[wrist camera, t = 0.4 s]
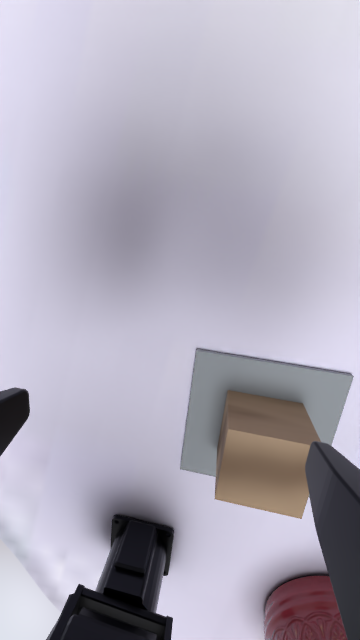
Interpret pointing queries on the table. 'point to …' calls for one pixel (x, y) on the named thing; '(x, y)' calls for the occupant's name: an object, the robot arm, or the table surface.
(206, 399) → the mat
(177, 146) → the table surface
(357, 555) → the robot arm
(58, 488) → the table surface
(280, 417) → the walnut block
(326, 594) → the canister
